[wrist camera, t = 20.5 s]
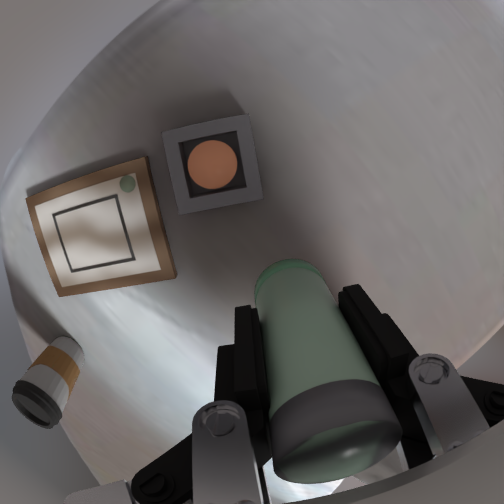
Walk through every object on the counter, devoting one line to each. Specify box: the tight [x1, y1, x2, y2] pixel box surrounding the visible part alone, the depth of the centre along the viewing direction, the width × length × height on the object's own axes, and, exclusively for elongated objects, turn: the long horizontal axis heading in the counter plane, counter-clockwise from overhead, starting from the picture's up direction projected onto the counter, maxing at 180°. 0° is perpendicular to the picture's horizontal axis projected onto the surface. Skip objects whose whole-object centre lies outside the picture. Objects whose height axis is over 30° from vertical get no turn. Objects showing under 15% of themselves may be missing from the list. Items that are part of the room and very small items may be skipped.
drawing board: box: [26, 156, 177, 297], centre depth 33 cm, size 15×19×1 cm
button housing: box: [161, 114, 264, 215], centre depth 30 cm, size 9×9×3 cm
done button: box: [188, 140, 237, 189], centre depth 30 cm, size 5×5×2 cm
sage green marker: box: [254, 259, 403, 484], centre depth 9 cm, size 3×3×8 cm
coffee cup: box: [12, 336, 84, 429], centre depth 34 cm, size 8×8×15 cm
